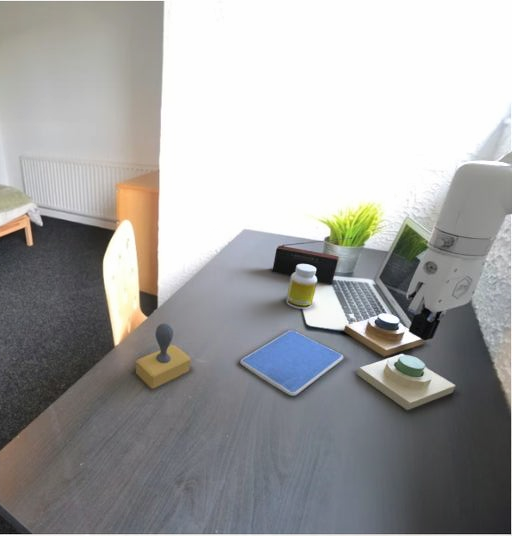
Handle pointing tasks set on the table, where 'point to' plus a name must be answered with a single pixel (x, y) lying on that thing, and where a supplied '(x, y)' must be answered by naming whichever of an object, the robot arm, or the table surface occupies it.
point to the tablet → (291, 362)
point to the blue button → (387, 321)
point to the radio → (305, 262)
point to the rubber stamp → (163, 360)
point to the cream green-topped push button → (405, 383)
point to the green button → (410, 366)
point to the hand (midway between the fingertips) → (419, 335)
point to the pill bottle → (302, 287)
